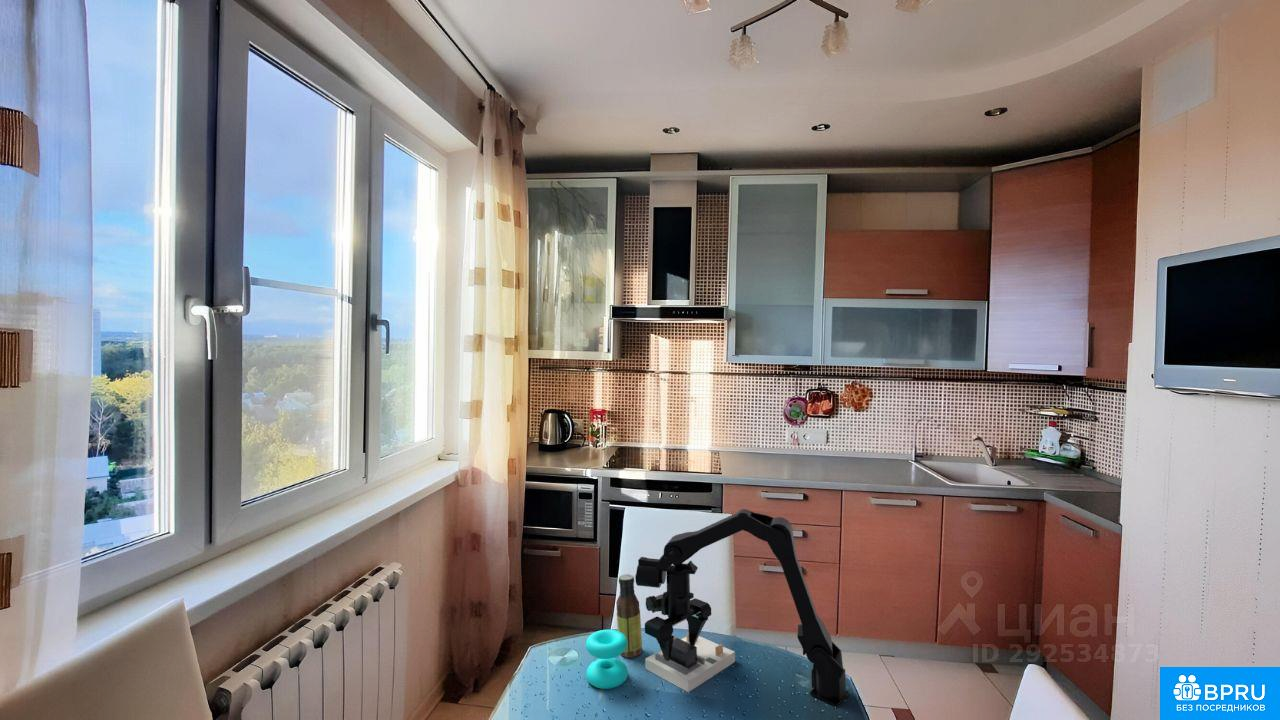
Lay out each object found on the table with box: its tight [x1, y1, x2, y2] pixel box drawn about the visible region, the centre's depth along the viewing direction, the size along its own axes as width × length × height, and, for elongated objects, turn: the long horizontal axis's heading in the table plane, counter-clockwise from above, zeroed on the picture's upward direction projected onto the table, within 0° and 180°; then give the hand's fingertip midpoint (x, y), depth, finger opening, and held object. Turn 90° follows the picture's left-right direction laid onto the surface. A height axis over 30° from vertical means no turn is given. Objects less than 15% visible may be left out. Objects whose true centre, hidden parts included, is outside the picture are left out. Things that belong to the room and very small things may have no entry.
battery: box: [670, 635, 697, 669], centre depth 132 cm, size 8×4×4 cm, turn 44°
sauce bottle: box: [616, 573, 643, 658], centre depth 141 cm, size 7×6×20 cm
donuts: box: [585, 629, 629, 690], centre depth 129 cm, size 10×10×10 cm
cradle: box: [644, 632, 736, 693], centre depth 134 cm, size 14×18×4 cm
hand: (679, 653), depth 131 cm, fingers open, 9 cm apart
